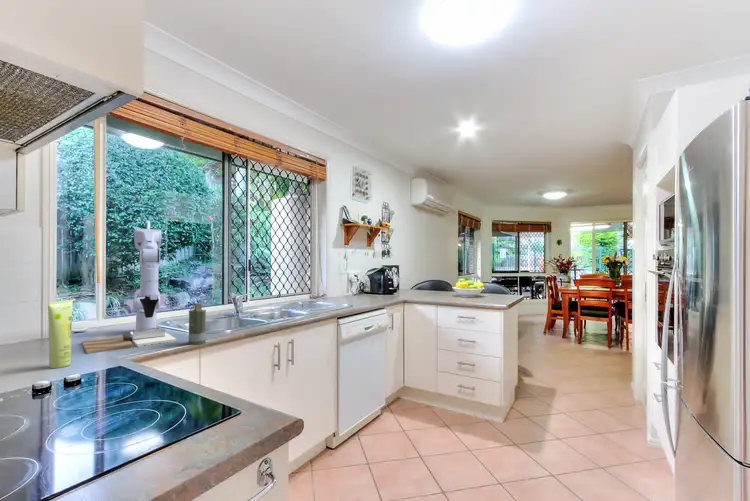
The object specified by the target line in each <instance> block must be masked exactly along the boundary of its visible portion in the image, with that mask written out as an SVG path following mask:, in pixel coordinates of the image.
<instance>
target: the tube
mask: <svg viewBox="0 0 750 501" xmlns="http://www.w3.org/2000/svg"><path fill="white" fill-rule="evenodd" d="M73 303H74V300H73V298H72V299H66V300H65V299H64V300H60V301H52V302H48V303H47V310H48V312H47V314H48V342H49V343H48V350H49V351H48V362H49V363H48V367H49V368H50V369H60V368H64V367H68V366H70V365H71V362H72V360H71V357H72V325H73V322H72V321H73V320H72V319H73V307H74V306H73Z"/></svg>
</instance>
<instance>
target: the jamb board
mask: <svg viewBox="0 0 750 501" xmlns="http://www.w3.org/2000/svg"><path fill="white" fill-rule="evenodd" d="M131 341H132V339H131V340H123V335H122V336H115V337H107V338H100V339H99V338H98V339H91V340H83V341H81V345H82V348H83V349H84V352H85V354H86V355H87V354H95V353H101V352H109V351H117V350H124V349H131V348H130V347H132V348H134V347H135V344H134V343H133V342H131Z"/></svg>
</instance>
